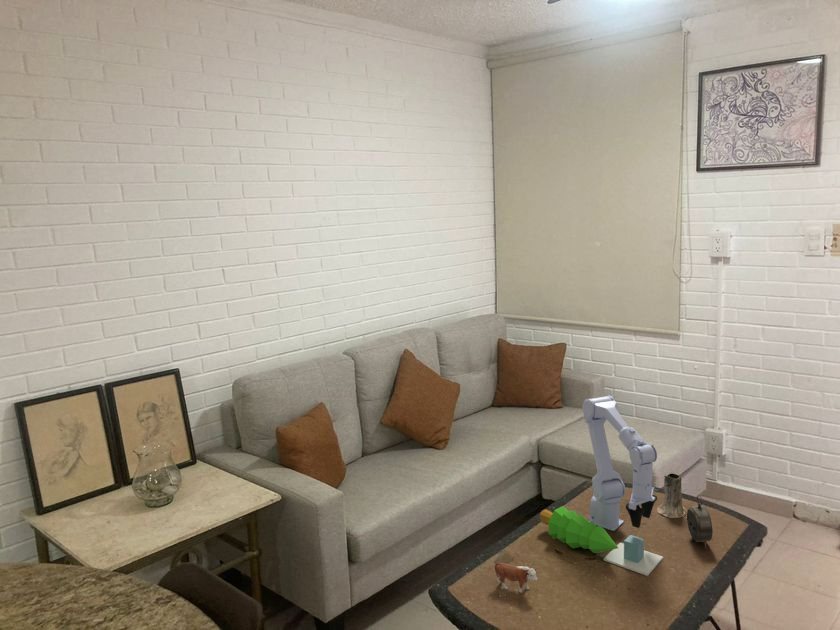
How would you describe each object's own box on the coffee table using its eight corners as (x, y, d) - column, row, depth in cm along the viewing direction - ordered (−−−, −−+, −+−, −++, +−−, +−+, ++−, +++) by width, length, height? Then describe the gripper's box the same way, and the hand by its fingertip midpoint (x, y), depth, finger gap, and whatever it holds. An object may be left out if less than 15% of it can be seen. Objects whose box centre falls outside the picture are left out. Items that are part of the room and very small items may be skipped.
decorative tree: (549, 493, 227) (624, 522, 203) (558, 518, 231) (633, 549, 208) (528, 515, 221) (602, 548, 198) (538, 540, 226) (612, 575, 202)
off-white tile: (603, 560, 207) (603, 558, 207) (620, 544, 216) (620, 542, 216) (647, 576, 198) (647, 574, 198) (663, 558, 207) (663, 556, 207)
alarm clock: (712, 551, 210) (715, 503, 207) (695, 551, 210) (697, 503, 207) (699, 533, 221) (701, 487, 218) (683, 533, 221) (684, 487, 218)
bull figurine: (535, 600, 189) (535, 574, 188) (492, 586, 196) (492, 561, 195) (541, 591, 193) (541, 566, 191) (499, 579, 200) (498, 554, 198)
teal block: (623, 558, 207) (624, 540, 206) (629, 552, 210) (630, 534, 209) (637, 563, 204) (638, 545, 203) (643, 556, 207) (644, 539, 206)
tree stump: (658, 517, 232) (659, 481, 230) (655, 504, 242) (657, 469, 239) (688, 519, 230) (690, 483, 227) (685, 506, 239) (686, 471, 237)
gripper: (644, 493, 201) (643, 535, 203) (664, 477, 211) (662, 516, 214) (622, 487, 205) (621, 527, 208) (642, 471, 216) (641, 510, 219)
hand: (641, 521), depth 211 cm, fingers open, 7 cm apart
